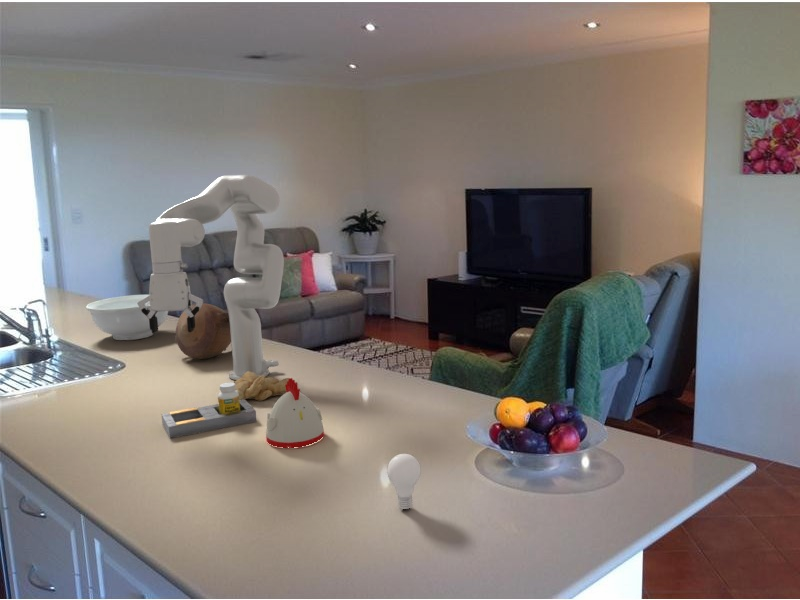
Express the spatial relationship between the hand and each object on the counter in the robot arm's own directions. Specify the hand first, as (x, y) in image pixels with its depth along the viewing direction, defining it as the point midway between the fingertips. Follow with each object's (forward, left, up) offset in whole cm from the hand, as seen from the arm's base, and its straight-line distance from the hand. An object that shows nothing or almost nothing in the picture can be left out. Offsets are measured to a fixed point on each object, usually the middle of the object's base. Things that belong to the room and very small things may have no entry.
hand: (173, 331), depth 195 cm
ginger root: (-22, -2, -23) cm, 32 cm away
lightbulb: (-27, +82, -23) cm, 89 cm away
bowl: (-1, -108, -23) cm, 111 cm away
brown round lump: (-23, -59, -23) cm, 67 cm away
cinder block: (-5, +13, -23) cm, 27 cm away
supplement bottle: (-10, +13, -23) cm, 28 cm away
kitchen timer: (-21, +35, -23) cm, 47 cm away
